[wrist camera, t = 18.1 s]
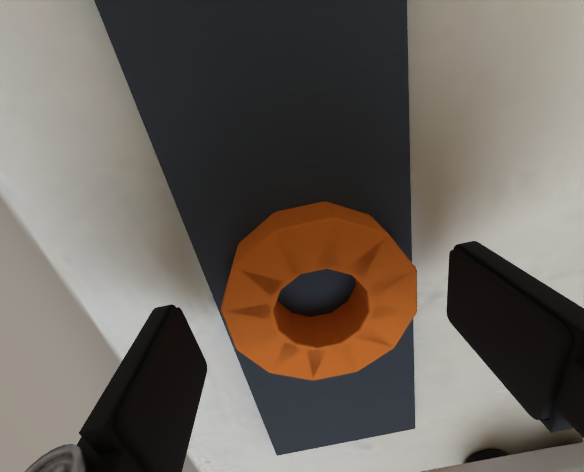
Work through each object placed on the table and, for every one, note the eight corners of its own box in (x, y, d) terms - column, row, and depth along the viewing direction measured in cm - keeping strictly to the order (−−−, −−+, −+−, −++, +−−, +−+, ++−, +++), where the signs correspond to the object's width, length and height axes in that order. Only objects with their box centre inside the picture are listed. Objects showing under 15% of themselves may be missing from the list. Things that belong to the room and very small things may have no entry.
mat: (82, -51, 7) (66, -66, 6) (394, -126, 7) (405, -147, 6) (276, 444, 16) (276, 456, 15) (410, 418, 16) (415, 429, 15)
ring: (206, 225, 10) (194, 247, 8) (393, 185, 9) (417, 199, 8) (255, 358, 12) (252, 393, 11) (399, 328, 12) (418, 360, 11)
